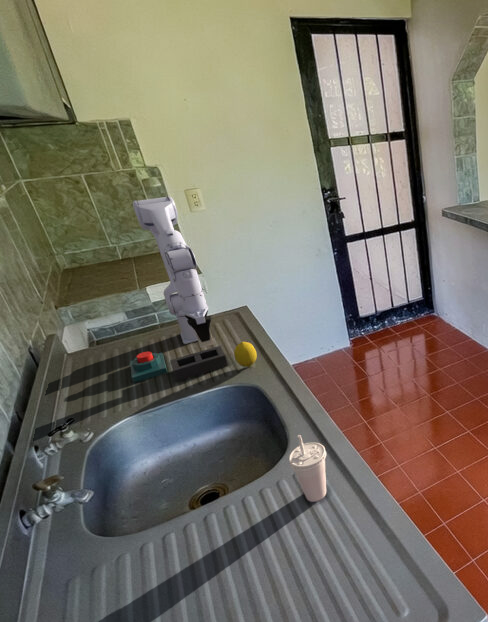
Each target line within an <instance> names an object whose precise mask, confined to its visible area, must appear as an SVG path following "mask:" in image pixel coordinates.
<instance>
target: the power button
mask: <svg viewBox="0 0 488 622" xmlns="http://www.w3.org/2000/svg"><path fill="white" fill-rule="evenodd" d="M152 353H153V352H152V351H142V352H140V353H138V354H137V355H136V356H135V358H137V360H138V362H139V363H144V362H148V361H150V360H152V359H153V356H152Z"/></svg>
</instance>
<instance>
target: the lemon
mask: <svg viewBox="0 0 488 622" xmlns="http://www.w3.org/2000/svg"><path fill="white" fill-rule="evenodd" d="M233 354H234V359H235V362H236V363H237V364H238V365H239V366H241V367H246V368H250V367H251V366H252V365H254V364H255V363H256V360H257V357H258V355H257V350H256V348H255V347H254V345H253V344H252V343H250V342H247V341H240V343H238V344H237V345H236V346H235V348H234V351H233Z"/></svg>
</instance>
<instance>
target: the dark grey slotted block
mask: <svg viewBox="0 0 488 622" xmlns="http://www.w3.org/2000/svg"><path fill="white" fill-rule="evenodd" d="M170 366H171V368H172V371H173V375H174V378H175V381H176V382H181V381H184V380H188V379H190V378H194V377H197V376H200V375H203V374H206V373H210V372H213V371H217V370H219V369H222V368H225V367H228V366H229V363H228V360H227V357H226V354H225V353H224V350H223V348H222V346H221V345H218V346H214V347H210V348H207V349H204V350H201V351H197V352H194V353H190V354H186V355H183V356H179V357H177V358H173V359H170Z"/></svg>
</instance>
